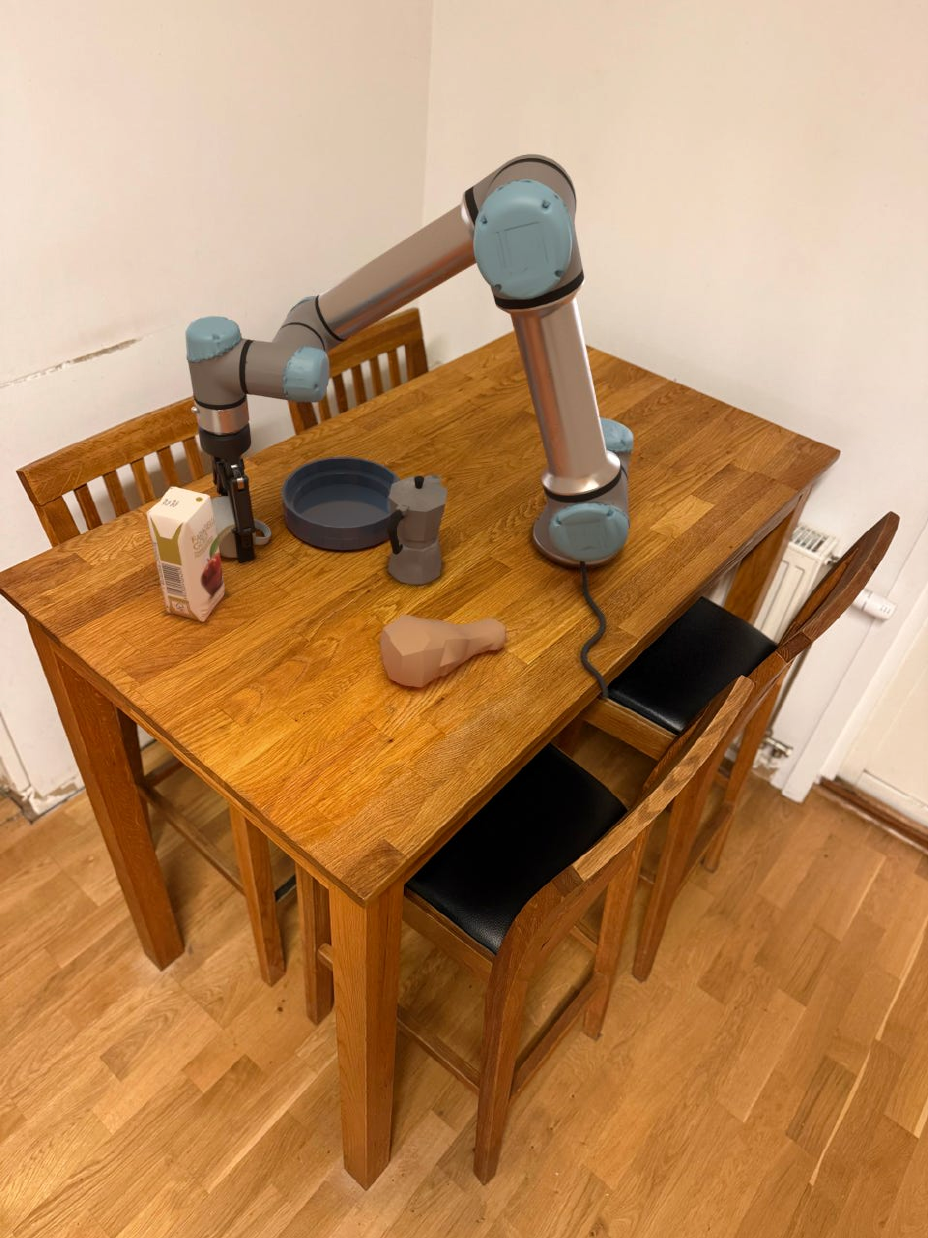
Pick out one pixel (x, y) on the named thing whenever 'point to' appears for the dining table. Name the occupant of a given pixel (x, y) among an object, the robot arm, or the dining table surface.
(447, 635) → the raw chicken drumstick
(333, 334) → the robot arm
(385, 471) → the bowl
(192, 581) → the juice carton
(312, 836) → the dining table surface
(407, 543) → the coffeepot
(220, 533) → the ceramic mug
